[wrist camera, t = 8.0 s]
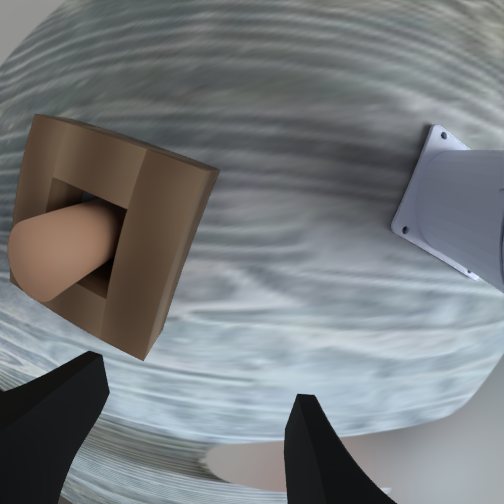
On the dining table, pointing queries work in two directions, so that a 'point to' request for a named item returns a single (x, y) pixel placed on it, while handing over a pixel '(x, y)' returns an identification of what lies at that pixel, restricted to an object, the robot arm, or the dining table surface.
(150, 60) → the dining table surface
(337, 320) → the dining table surface
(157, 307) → the socket block
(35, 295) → the peg
